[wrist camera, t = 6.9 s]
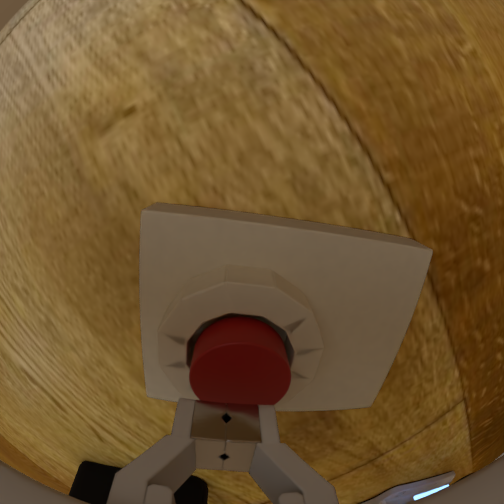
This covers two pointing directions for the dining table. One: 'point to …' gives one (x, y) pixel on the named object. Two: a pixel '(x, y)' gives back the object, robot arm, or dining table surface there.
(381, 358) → the red button box
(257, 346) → the power button
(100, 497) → the camera
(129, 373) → the dining table surface
